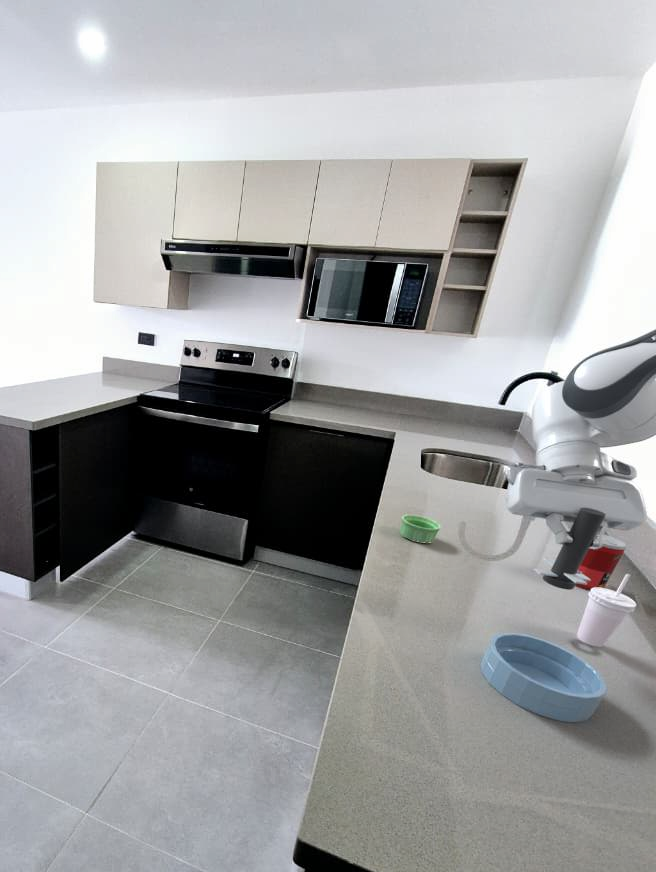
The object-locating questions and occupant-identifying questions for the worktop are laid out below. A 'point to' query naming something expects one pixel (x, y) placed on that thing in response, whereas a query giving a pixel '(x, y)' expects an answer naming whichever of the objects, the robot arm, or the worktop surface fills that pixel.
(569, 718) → the shallow blue bowl
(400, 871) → the worktop surface
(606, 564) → the canned food
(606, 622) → the smoothie
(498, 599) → the worktop surface
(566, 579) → the black cylinder
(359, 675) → the worktop surface
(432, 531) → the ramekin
